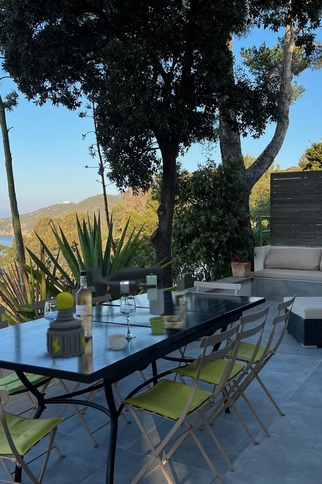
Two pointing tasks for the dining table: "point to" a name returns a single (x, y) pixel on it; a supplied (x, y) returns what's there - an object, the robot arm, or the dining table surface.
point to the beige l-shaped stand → (177, 317)
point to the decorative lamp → (65, 330)
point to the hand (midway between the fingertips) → (156, 285)
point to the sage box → (153, 291)
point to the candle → (116, 341)
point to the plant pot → (157, 325)
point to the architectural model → (179, 290)
